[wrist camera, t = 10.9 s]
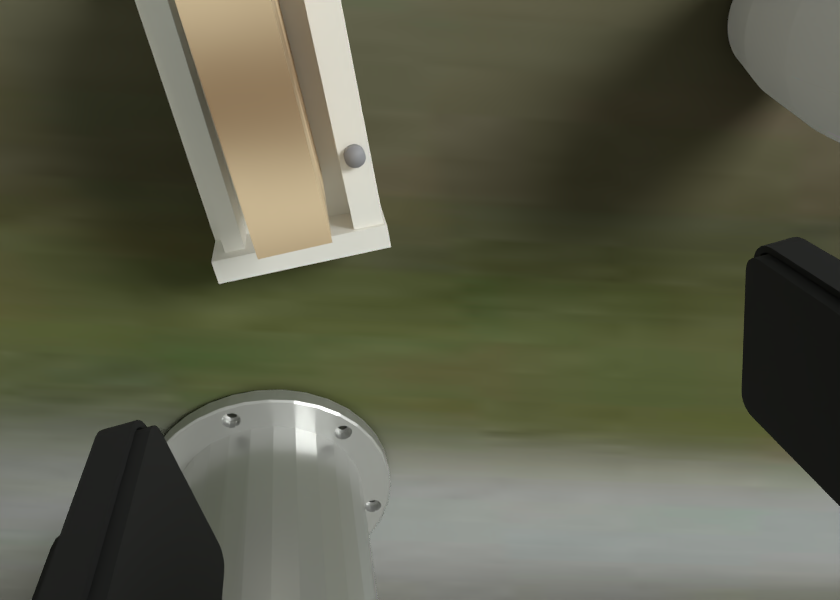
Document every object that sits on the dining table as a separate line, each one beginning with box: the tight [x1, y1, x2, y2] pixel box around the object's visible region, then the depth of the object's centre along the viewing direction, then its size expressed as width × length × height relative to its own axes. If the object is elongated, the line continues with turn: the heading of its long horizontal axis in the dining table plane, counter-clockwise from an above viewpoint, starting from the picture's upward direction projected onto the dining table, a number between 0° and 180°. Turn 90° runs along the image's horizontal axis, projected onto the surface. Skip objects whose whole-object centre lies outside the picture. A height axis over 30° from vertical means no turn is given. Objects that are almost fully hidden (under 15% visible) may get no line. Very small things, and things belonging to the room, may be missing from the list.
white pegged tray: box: [135, 0, 391, 284], centre depth 25 cm, size 16×7×3 cm, turn 9°
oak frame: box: [175, 0, 332, 259], centre depth 22 cm, size 10×3×7 cm, turn 9°
